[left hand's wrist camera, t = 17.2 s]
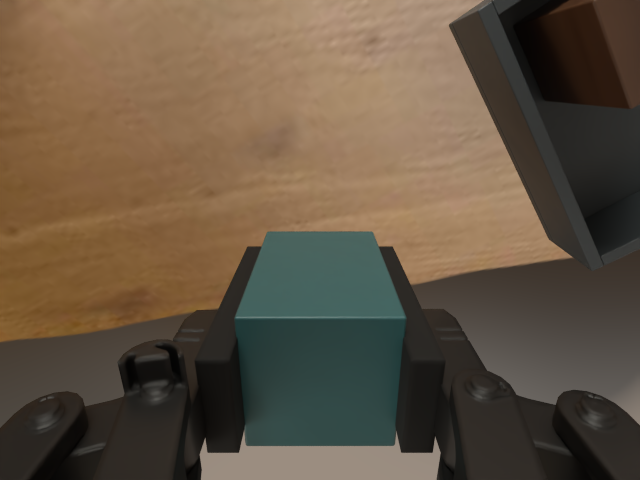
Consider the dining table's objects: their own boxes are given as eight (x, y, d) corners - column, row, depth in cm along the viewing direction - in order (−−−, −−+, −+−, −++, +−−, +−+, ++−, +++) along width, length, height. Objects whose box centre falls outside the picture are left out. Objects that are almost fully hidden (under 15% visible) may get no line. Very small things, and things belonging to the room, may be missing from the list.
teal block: (271, 322, 16) (245, 447, 10) (266, 231, 14) (233, 317, 9) (368, 322, 16) (395, 446, 10) (373, 231, 14) (407, 317, 9)
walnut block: (544, 101, 19) (631, 110, 13) (512, 25, 18) (592, 0, 12) (627, 51, 18) (757, 38, 12) (599, -33, 17) (729, -89, 11)
